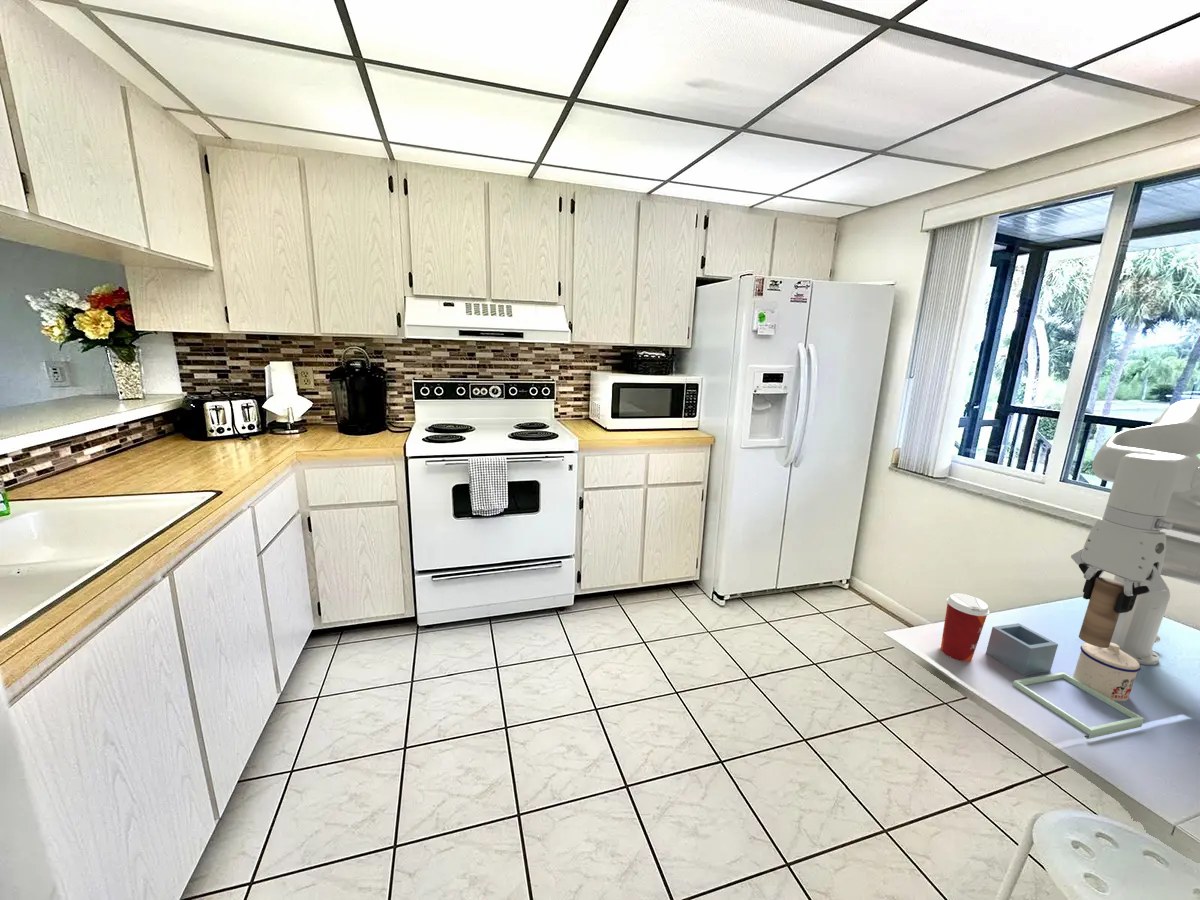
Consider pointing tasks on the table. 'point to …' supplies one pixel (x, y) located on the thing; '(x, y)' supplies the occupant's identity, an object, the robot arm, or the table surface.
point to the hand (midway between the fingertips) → (1105, 604)
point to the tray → (1092, 731)
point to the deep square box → (1021, 649)
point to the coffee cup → (963, 626)
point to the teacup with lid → (1107, 670)
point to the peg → (1101, 613)
